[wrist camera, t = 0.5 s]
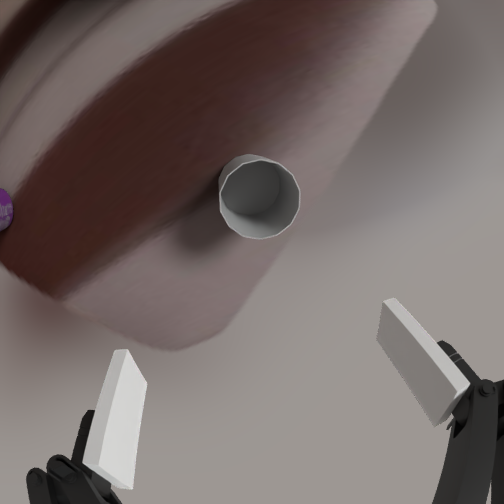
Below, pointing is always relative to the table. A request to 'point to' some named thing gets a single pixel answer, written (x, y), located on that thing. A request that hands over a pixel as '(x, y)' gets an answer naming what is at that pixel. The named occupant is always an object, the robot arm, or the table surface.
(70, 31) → the table surface
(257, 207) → the cup
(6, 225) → the beverage can
